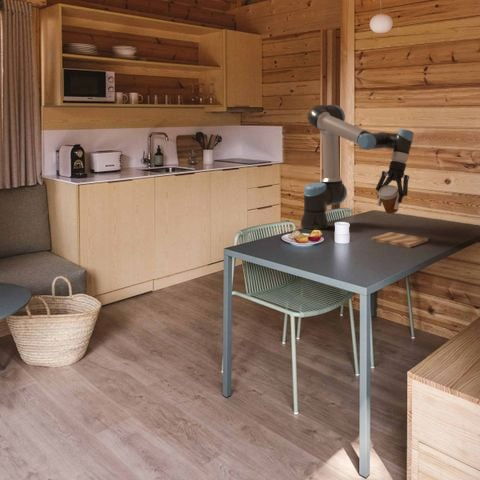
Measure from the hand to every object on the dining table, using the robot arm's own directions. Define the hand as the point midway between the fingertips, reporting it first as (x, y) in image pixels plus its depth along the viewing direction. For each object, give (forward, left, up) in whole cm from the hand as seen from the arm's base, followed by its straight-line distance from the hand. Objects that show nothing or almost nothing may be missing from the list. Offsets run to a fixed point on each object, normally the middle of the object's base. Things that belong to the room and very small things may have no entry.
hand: (387, 207), depth 271 cm
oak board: (+8, -2, -15) cm, 17 cm away
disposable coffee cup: (0, +5, -2) cm, 5 cm away
